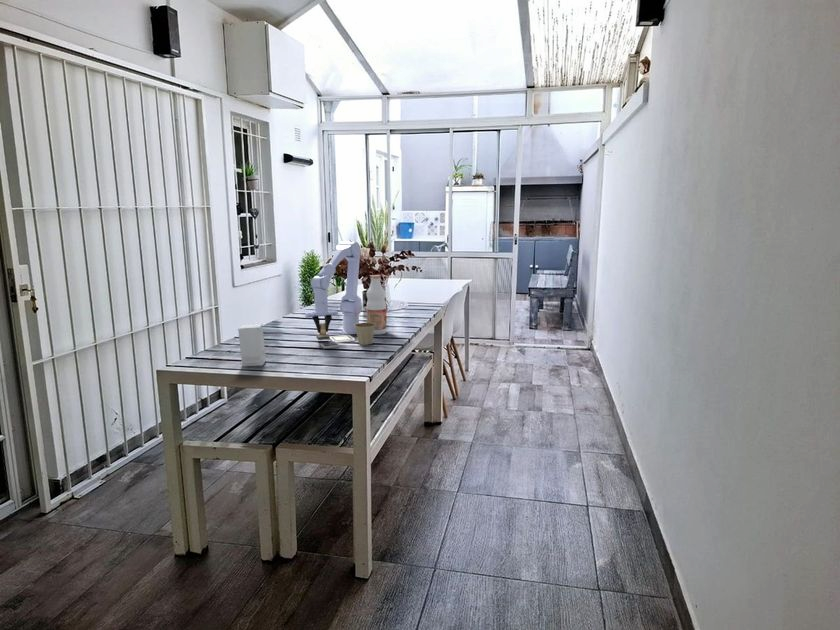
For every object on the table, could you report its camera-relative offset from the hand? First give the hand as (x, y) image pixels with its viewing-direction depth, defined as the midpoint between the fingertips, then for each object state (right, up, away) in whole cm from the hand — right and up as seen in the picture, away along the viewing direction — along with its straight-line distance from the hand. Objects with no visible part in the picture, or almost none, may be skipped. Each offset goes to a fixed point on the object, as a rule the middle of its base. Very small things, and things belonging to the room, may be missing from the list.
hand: (322, 331), depth 258 cm
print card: (+8, -4, +4) cm, 10 cm away
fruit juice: (+23, -1, +17) cm, 29 cm away
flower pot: (+20, -5, -3) cm, 21 cm away
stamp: (0, -3, +1) cm, 3 cm away
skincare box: (-22, -12, -34) cm, 42 cm away
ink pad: (+4, -6, -7) cm, 10 cm away
